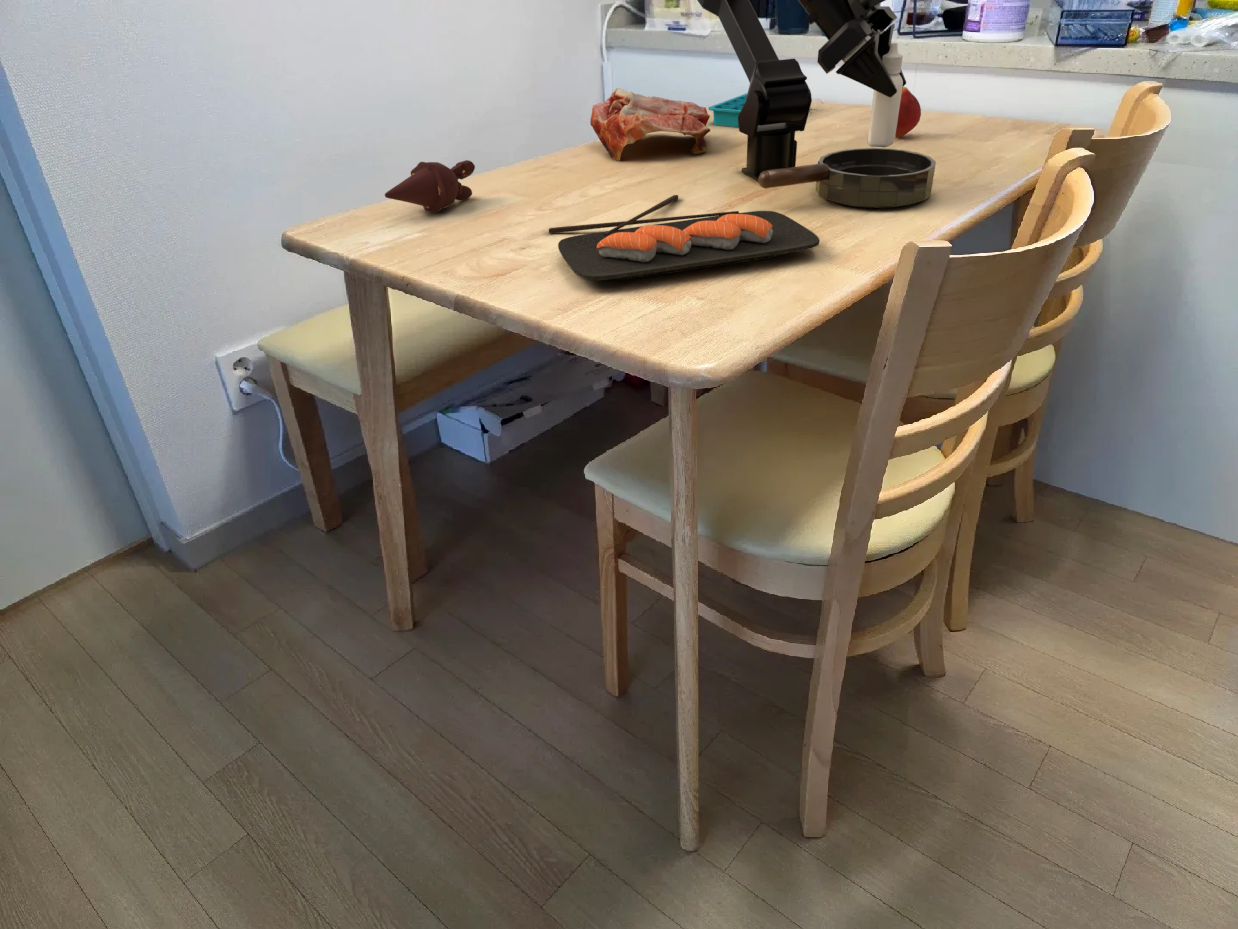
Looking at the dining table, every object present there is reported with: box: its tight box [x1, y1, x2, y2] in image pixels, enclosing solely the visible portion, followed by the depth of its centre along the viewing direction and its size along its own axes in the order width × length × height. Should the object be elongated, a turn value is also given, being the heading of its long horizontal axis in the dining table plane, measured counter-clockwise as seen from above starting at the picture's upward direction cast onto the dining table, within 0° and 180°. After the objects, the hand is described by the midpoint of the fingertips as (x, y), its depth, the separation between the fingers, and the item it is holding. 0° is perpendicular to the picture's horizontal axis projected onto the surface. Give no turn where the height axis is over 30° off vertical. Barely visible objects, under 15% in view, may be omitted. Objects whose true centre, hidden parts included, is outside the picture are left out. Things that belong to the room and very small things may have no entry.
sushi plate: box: [548, 194, 821, 281], centre depth 102 cm, size 29×30×4 cm
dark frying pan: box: [815, 147, 937, 209], centre depth 112 cm, size 15×15×4 cm
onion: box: [895, 86, 922, 139], centre depth 139 cm, size 6×6×8 cm
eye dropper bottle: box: [867, 42, 904, 148], centre depth 107 cm, size 4×6×12 cm
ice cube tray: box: [708, 92, 748, 128], centre depth 159 cm, size 12×20×3 cm, turn 145°
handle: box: [757, 163, 830, 189], centre depth 109 cm, size 10×2×2 cm, turn 107°
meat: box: [589, 87, 711, 162], centre depth 140 cm, size 21×21×10 cm
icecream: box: [384, 159, 476, 214], centre depth 115 cm, size 7×7×15 cm
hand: (898, 90), depth 106 cm, fingers closed on eye dropper bottle, 5 cm apart
